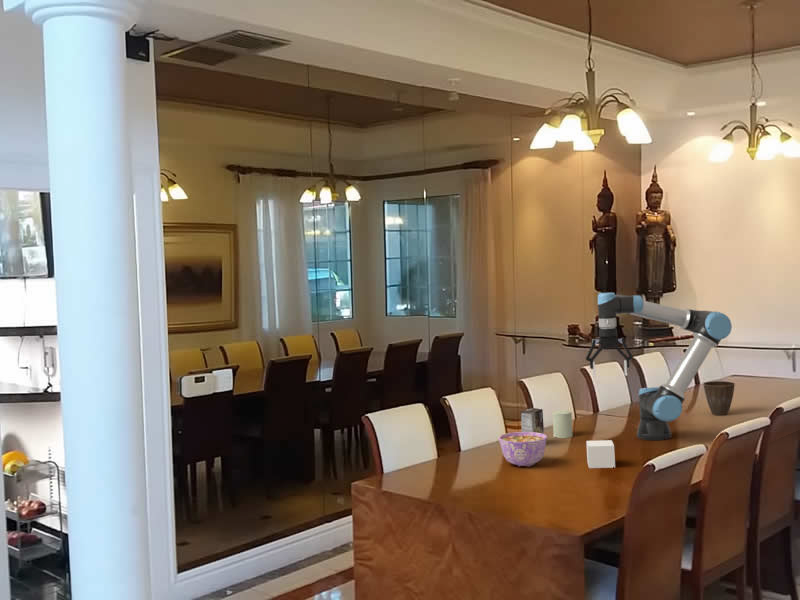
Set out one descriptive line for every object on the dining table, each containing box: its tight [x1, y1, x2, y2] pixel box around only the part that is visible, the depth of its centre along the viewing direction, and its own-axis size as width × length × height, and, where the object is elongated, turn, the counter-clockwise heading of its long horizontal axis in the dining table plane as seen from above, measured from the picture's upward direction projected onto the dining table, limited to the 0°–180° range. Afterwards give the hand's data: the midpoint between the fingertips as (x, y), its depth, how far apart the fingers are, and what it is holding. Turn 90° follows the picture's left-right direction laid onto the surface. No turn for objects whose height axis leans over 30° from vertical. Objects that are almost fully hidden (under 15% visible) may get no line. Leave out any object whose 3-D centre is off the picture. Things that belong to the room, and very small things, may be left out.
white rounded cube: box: [585, 439, 616, 469], centre depth 328 cm, size 10×10×9 cm
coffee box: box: [520, 407, 545, 434], centre depth 370 cm, size 9×6×16 cm
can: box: [551, 409, 574, 439], centre depth 385 cm, size 9×9×12 cm
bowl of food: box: [498, 431, 548, 467], centre depth 336 cm, size 20×20×12 cm
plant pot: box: [703, 380, 736, 417], centre depth 414 cm, size 15×15×16 cm
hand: (610, 375), depth 356 cm, fingers open, 13 cm apart
